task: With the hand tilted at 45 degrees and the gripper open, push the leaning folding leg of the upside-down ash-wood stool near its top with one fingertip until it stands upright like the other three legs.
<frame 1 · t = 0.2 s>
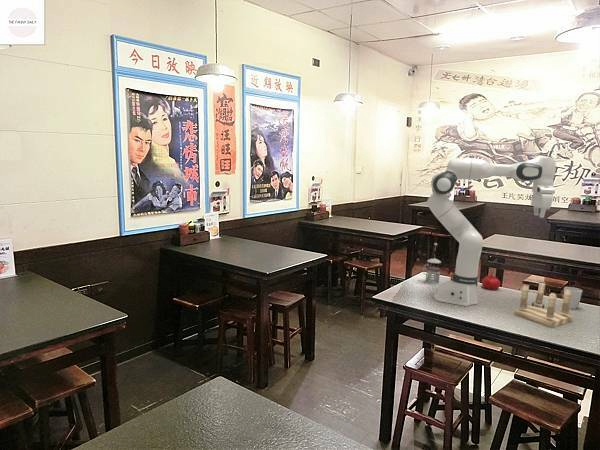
hand: (538, 216, 210), 48 cm above the table, tool pointing down, fingers open, 8 cm apart
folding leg: (541, 289, 215), point 11 cm above the table, hinge at 32.0°
pomegranate: (490, 288, 250), on the table
stool: (542, 317, 204), on the table
french press: (430, 283, 256), on the table
cup: (570, 307, 221), on the table
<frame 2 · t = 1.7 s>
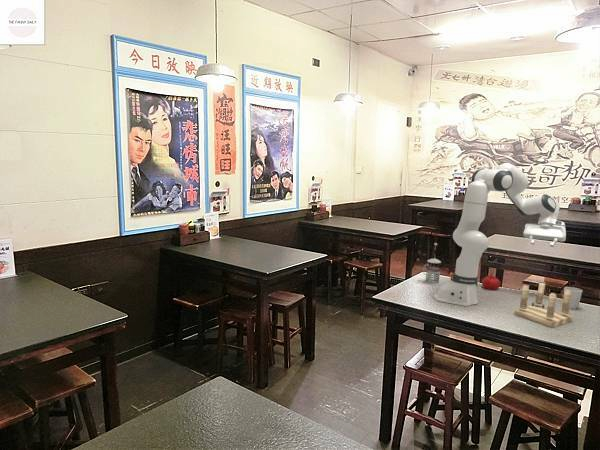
hand: (541, 244, 227), 31 cm above the table, tool tilted 45°, fingers open, 8 cm apart
nothing on the table moved.
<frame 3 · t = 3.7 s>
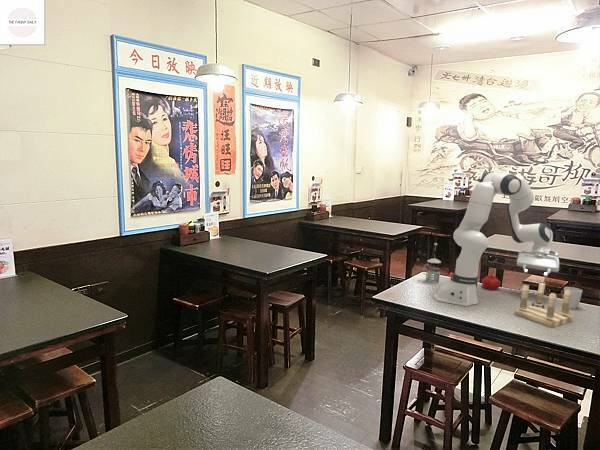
hand: (535, 274, 225), 15 cm above the table, tool tilted 45°, fingers open, 8 cm apart
nothing on the table moved.
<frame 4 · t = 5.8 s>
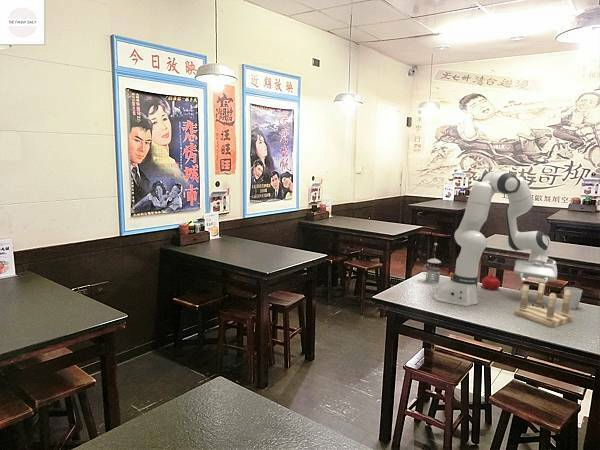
hand: (532, 283, 220), 12 cm above the table, tool tilted 45°, fingers open, 8 cm apart
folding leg: (541, 289, 215), point 11 cm above the table, hinge at 31.4°, touching gripper
everything else where it was.
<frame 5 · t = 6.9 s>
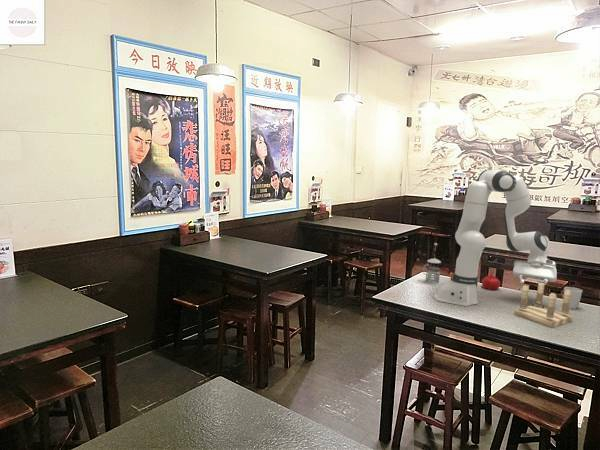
hand: (532, 285, 217), 12 cm above the table, tool tilted 45°, fingers open, 8 cm apart
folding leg: (540, 288, 213), point 12 cm above the table, hinge at 11.5°, touching gripper
everything else where it was.
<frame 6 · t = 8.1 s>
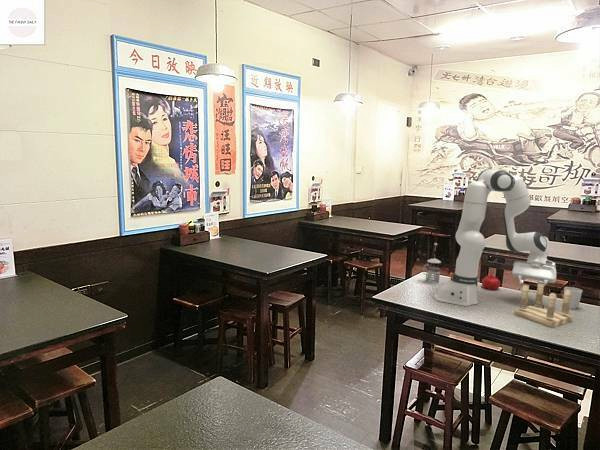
hand: (531, 285, 215), 12 cm above the table, tool tilted 45°, fingers open, 8 cm apart
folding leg: (540, 288, 211), point 12 cm above the table, hinge at 0.6°, touching gripper
everything else where it was.
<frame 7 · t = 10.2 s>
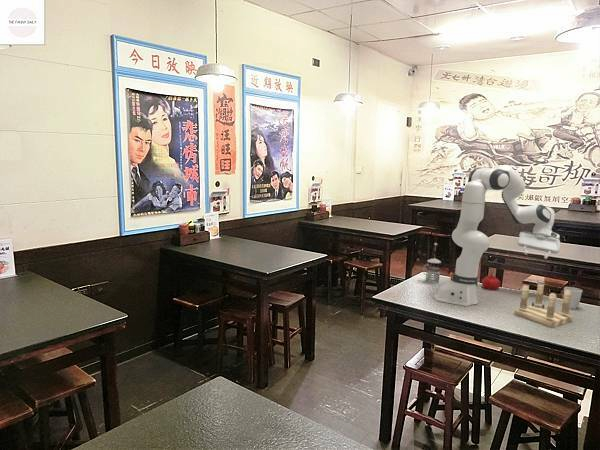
hand: (535, 256, 228), 25 cm above the table, tool tilted 35°, fingers open, 8 cm apart
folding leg: (540, 288, 211), point 12 cm above the table, hinge at 0.5°
everything else where it was.
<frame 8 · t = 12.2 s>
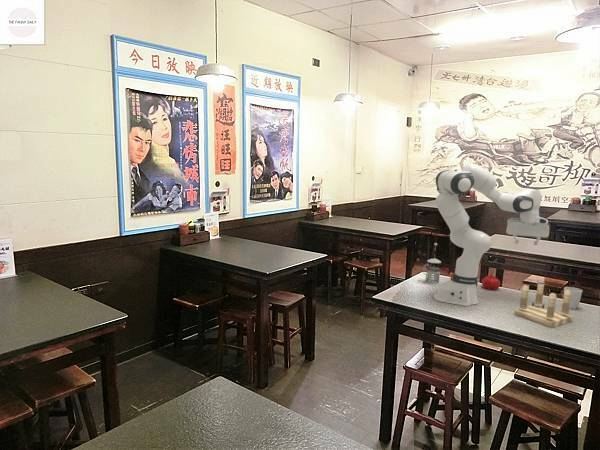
hand: (525, 244, 226), 31 cm above the table, tool pointing down, fingers open, 8 cm apart
nothing on the table moved.
at the end: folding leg at +0° (first picture: +32°); the gripper is holding nothing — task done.
